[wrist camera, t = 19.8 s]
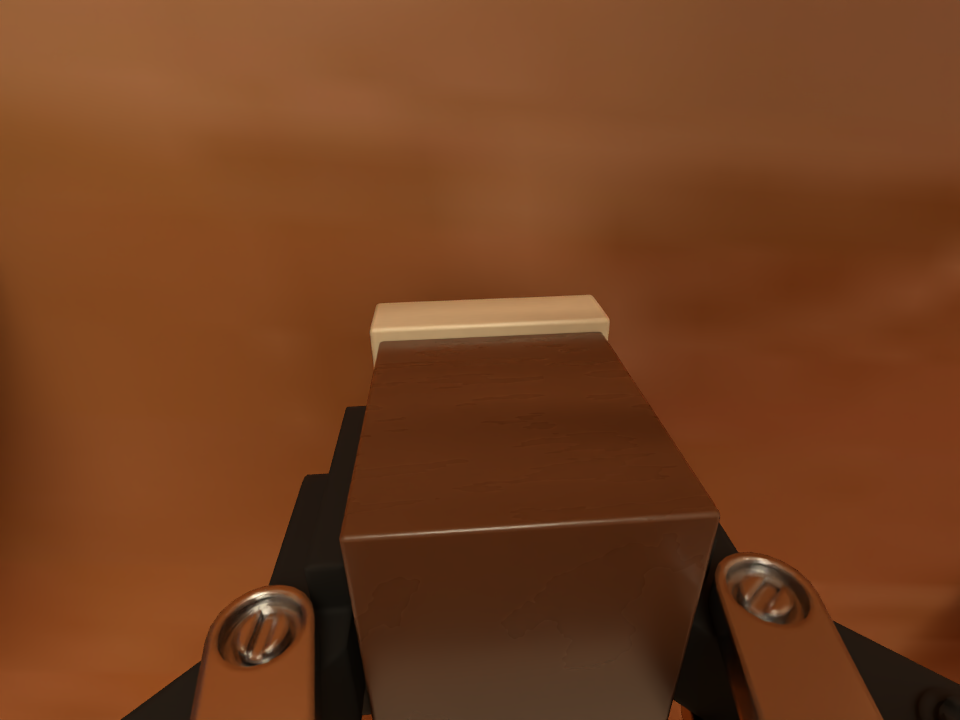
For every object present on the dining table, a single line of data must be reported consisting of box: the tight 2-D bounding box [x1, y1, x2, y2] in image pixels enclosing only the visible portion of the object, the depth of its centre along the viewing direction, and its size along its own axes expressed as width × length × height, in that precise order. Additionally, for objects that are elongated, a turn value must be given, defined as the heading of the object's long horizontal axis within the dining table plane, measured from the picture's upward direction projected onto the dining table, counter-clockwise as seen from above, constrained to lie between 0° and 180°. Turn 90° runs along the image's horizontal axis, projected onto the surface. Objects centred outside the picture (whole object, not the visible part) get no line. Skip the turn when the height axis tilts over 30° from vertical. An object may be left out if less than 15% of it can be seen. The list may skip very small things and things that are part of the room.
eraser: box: [339, 295, 720, 720], centre depth 9 cm, size 7×4×6 cm, turn 1°
